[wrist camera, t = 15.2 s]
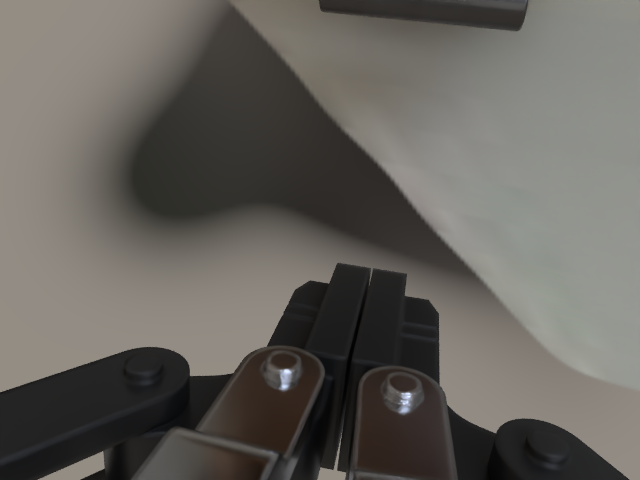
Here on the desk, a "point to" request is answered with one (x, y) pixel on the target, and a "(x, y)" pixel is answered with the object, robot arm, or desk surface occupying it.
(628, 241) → the desk surface
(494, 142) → the desk surface
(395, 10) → the drawer
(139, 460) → the robot arm
